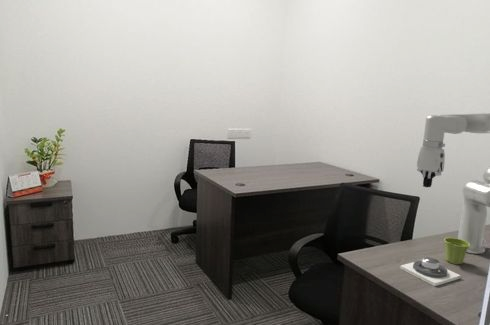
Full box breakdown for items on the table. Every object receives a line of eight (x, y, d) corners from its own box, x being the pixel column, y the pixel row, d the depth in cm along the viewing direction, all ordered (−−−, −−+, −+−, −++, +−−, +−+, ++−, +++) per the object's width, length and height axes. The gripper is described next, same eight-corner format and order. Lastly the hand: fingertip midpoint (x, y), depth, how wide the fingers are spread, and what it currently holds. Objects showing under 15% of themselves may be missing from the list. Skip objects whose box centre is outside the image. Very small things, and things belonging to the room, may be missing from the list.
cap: (427, 265, 145) (429, 255, 144) (441, 272, 140) (443, 262, 139) (417, 268, 142) (418, 258, 142) (431, 275, 137) (432, 264, 136)
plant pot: (441, 254, 159) (444, 235, 158) (466, 260, 155) (469, 240, 153) (440, 262, 151) (443, 242, 150) (467, 268, 147) (470, 248, 145)
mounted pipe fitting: (424, 261, 151) (425, 256, 151) (460, 278, 138) (461, 272, 138) (399, 268, 144) (400, 262, 144) (434, 286, 131) (435, 280, 131)
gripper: (455, 146, 150) (448, 190, 153) (422, 142, 163) (417, 182, 166) (443, 147, 147) (437, 191, 150) (411, 142, 160) (406, 183, 163)
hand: (426, 186), depth 158 cm, fingers closed
